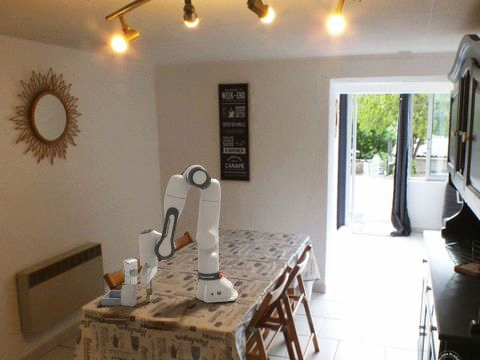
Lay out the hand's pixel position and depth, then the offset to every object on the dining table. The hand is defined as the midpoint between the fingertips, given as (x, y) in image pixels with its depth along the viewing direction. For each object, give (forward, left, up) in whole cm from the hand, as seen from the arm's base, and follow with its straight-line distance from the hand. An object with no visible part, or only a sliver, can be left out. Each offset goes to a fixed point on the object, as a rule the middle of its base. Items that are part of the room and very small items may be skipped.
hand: (149, 286), depth 220 cm
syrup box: (+18, -25, -8) cm, 32 cm away
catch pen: (+19, 0, -8) cm, 20 cm away
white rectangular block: (+10, +5, -8) cm, 13 cm away
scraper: (0, 0, -7) cm, 7 cm away
